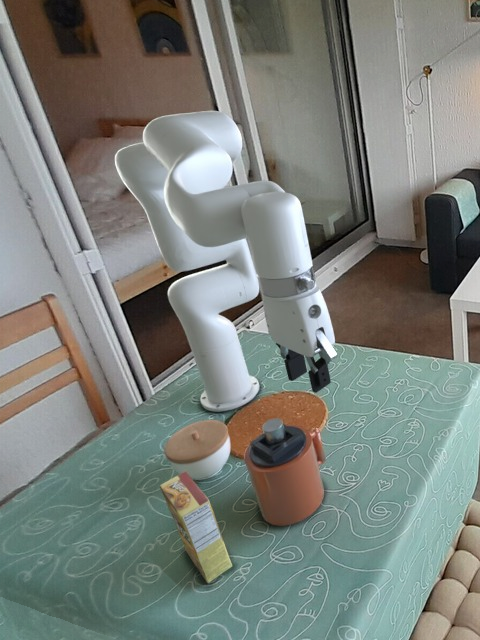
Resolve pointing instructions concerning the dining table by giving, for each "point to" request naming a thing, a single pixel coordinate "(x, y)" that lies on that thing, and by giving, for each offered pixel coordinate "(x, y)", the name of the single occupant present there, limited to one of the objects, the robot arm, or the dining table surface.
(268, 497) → the jug
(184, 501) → the candy box
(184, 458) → the trinket box
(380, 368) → the dining table surface
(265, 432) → the jug button
